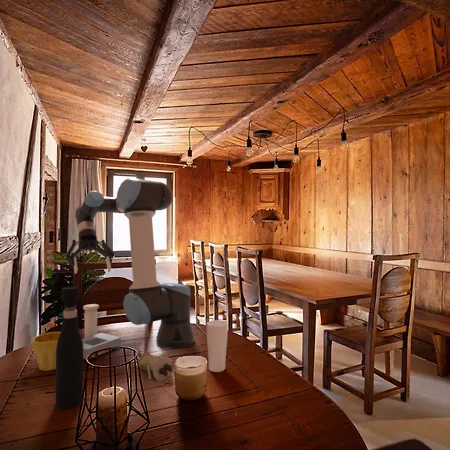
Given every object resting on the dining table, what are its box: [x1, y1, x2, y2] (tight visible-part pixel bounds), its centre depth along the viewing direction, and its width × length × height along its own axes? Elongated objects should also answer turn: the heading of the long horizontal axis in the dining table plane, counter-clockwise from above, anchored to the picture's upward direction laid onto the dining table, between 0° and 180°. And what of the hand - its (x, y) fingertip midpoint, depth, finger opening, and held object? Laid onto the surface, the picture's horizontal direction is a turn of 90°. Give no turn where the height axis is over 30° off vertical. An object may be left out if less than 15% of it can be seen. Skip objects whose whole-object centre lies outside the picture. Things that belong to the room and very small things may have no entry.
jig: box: [82, 332, 121, 360], centre depth 121 cm, size 11×15×4 cm
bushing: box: [82, 303, 100, 338], centre depth 131 cm, size 6×6×14 cm
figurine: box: [137, 349, 173, 381], centre depth 101 cm, size 9×7×15 cm
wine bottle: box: [55, 285, 84, 411], centre depth 84 cm, size 6×6×30 cm
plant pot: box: [31, 331, 61, 372], centre depth 106 cm, size 10×10×10 cm
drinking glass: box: [206, 319, 228, 373], centre depth 105 cm, size 7×7×15 cm
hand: (93, 271), depth 139 cm, fingers open, 13 cm apart
